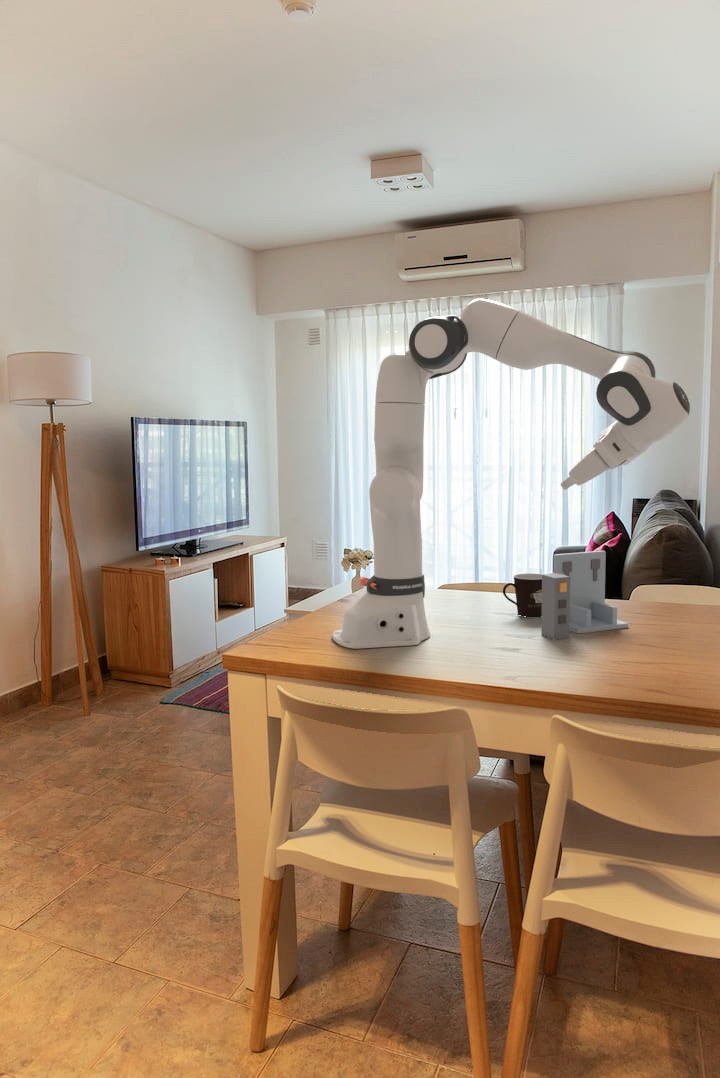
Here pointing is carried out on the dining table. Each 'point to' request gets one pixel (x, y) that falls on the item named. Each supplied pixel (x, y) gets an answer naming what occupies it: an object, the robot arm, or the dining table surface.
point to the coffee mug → (527, 594)
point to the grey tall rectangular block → (555, 606)
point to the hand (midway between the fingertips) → (570, 480)
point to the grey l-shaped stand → (587, 591)
